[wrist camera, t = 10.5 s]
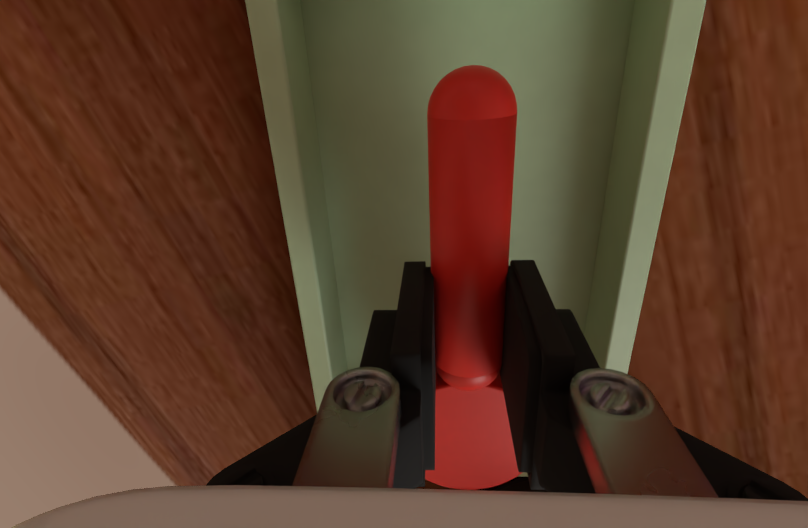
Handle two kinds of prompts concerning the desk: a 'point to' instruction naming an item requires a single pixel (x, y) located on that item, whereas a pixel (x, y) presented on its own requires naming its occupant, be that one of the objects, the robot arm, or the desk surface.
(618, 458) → the robot arm
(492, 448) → the red spoon
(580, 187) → the tray
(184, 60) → the desk surface
